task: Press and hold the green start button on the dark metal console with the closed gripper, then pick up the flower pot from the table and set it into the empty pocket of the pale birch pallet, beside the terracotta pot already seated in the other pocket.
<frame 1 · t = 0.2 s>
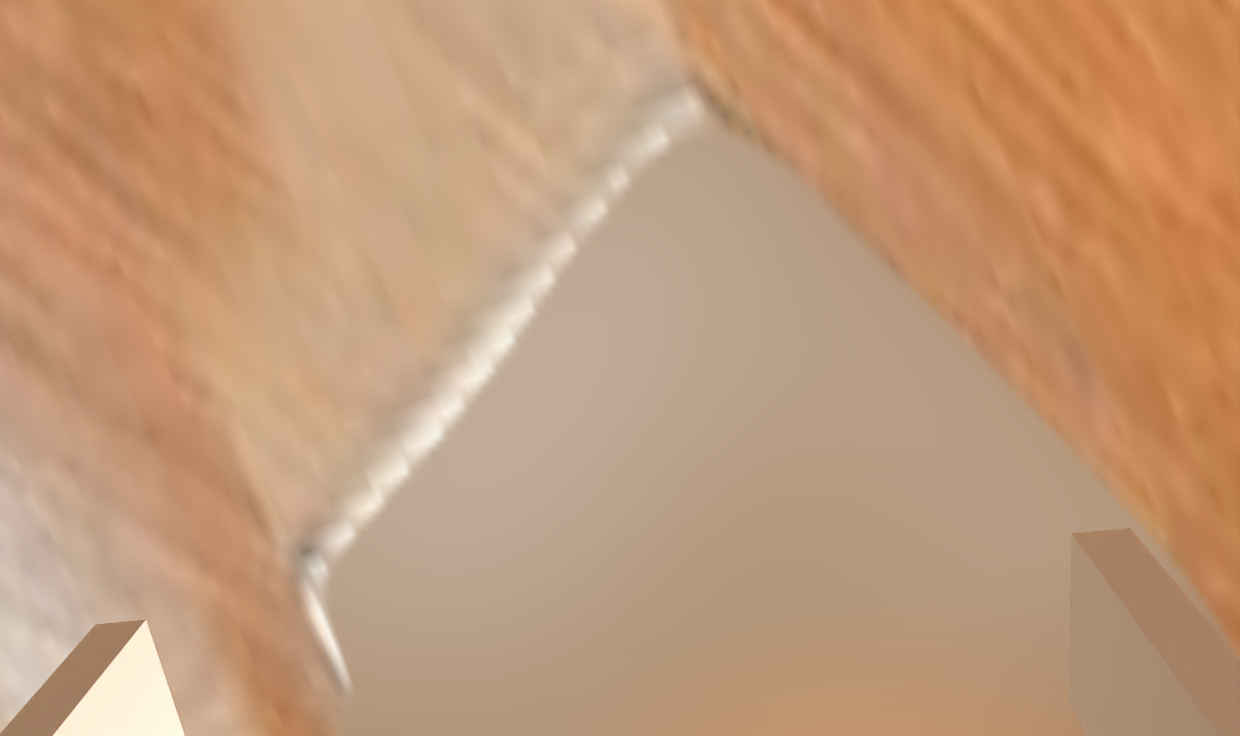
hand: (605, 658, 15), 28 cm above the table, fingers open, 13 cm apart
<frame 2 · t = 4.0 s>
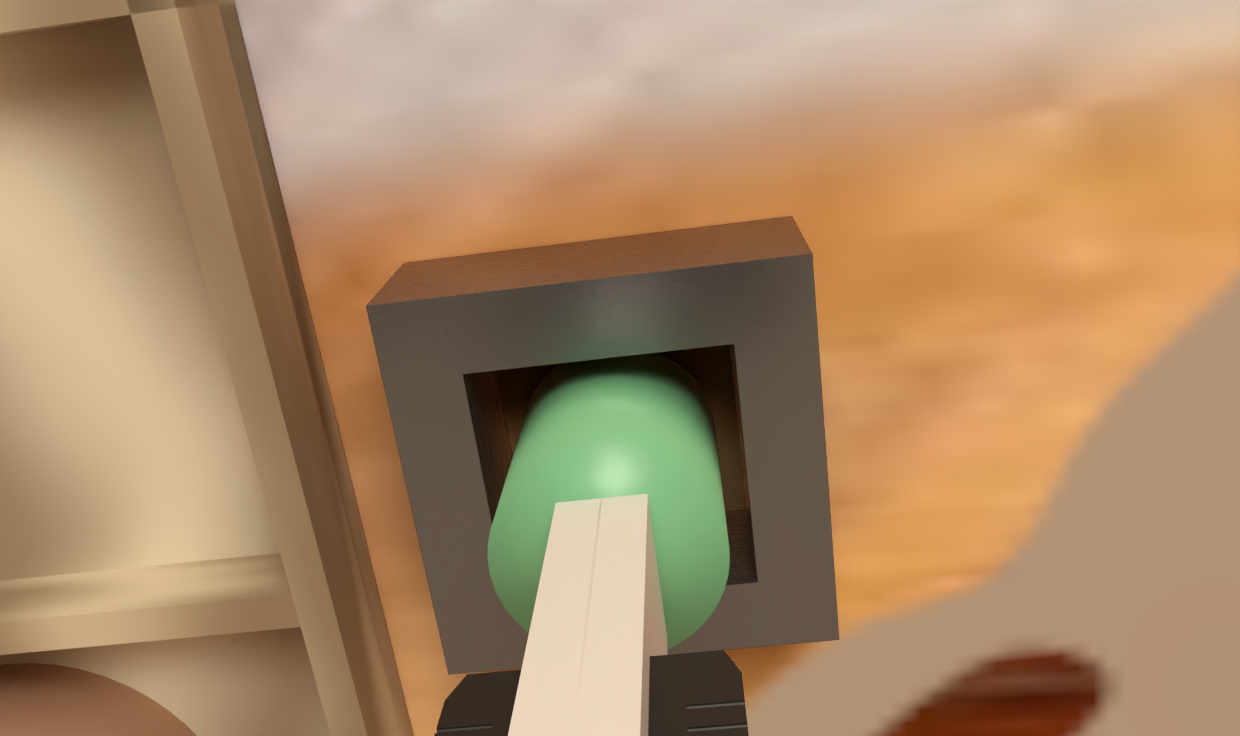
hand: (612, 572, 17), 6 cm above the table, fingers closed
start button: (614, 490, 20), point 3 cm above the table, slide at 0.8 cm, touching gripper
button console: (620, 419, 23), on the table
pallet: (3, 579, 25), on the table
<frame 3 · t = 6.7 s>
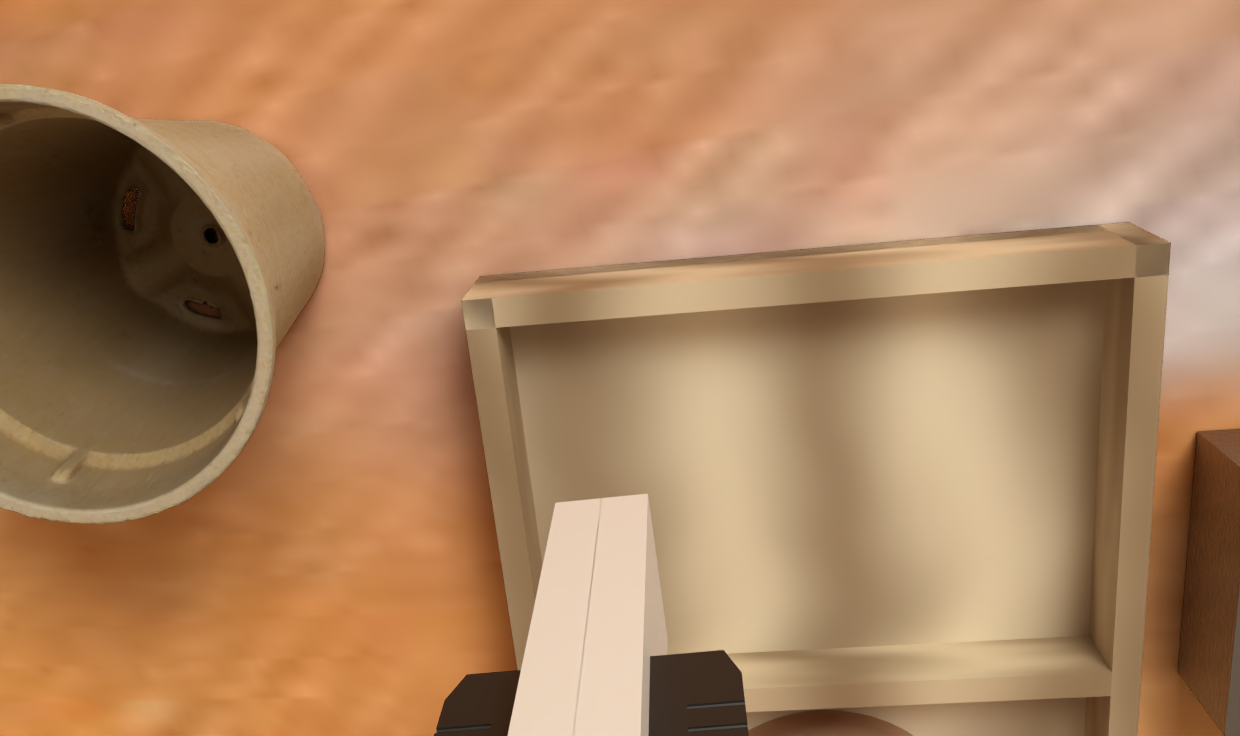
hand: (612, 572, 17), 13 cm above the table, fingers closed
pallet: (814, 645, 33), on the table
flower pot: (224, 233, 30), on the table
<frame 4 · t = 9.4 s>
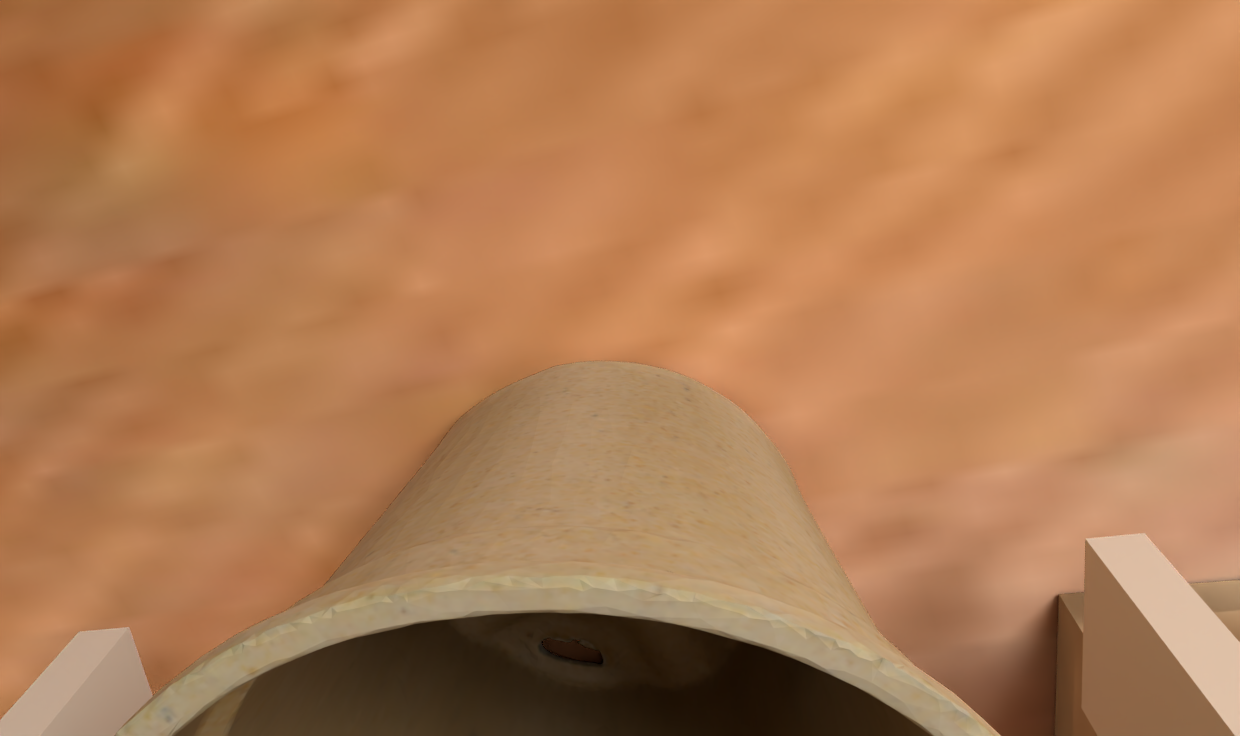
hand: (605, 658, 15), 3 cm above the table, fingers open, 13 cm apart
flower pot: (611, 529, 17), on the table
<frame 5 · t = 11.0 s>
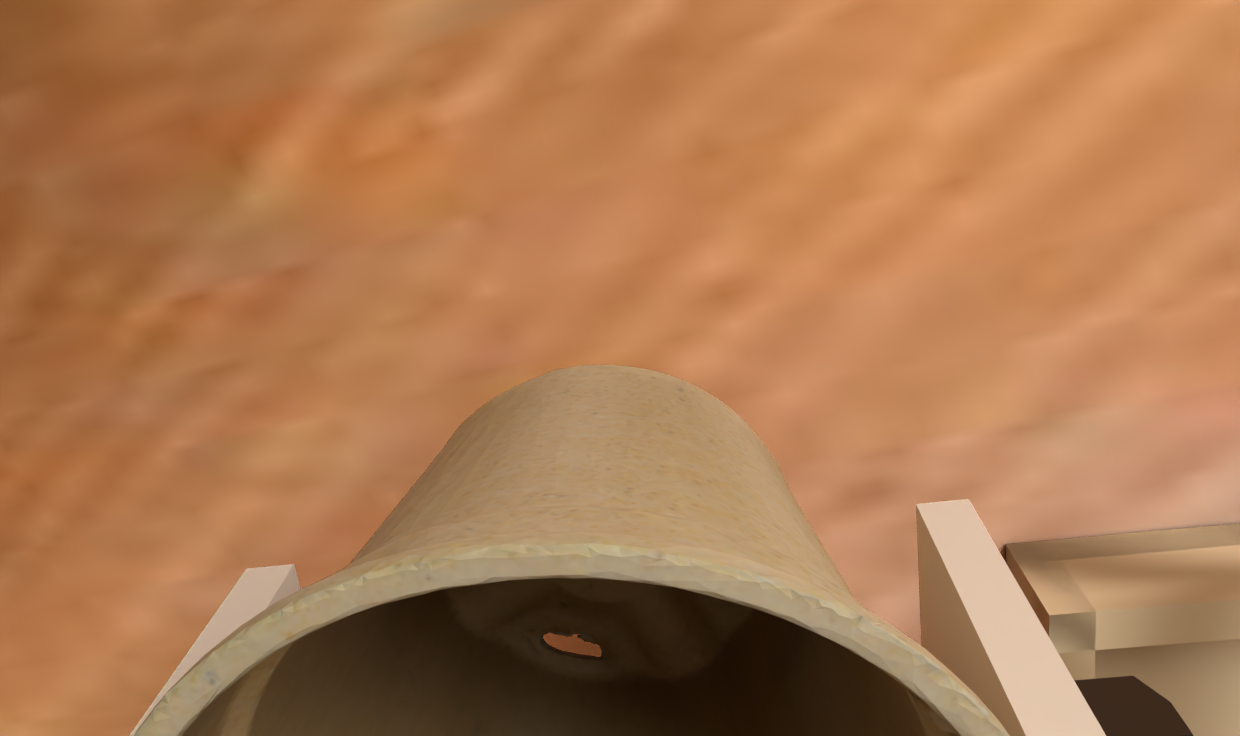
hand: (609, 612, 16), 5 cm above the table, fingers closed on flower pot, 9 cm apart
flower pot: (609, 527, 18), point 3 cm above the table, touching gripper
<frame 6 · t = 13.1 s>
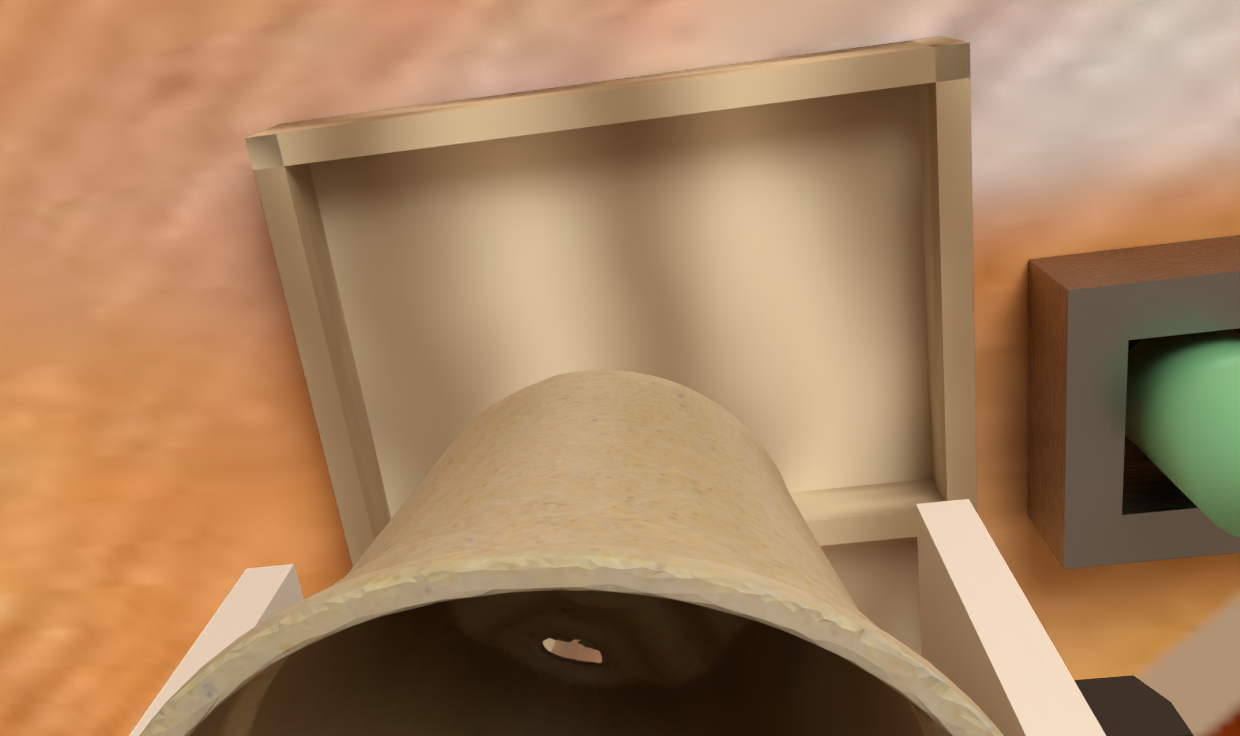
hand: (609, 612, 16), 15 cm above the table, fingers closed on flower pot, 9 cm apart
seated pot: (681, 687, 33), point 1 cm above the table, touching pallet
start button: (1229, 423, 27), point 3 cm above the table, slide at 1.0 cm
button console: (1172, 378, 30), on the table
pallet: (659, 504, 32), on the table
flower pot: (609, 532, 18), point 13 cm above the table, touching gripper
when the fingers open (4 cm above the table, at t = 15.5 s): flower pot stays where it is, resting on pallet.
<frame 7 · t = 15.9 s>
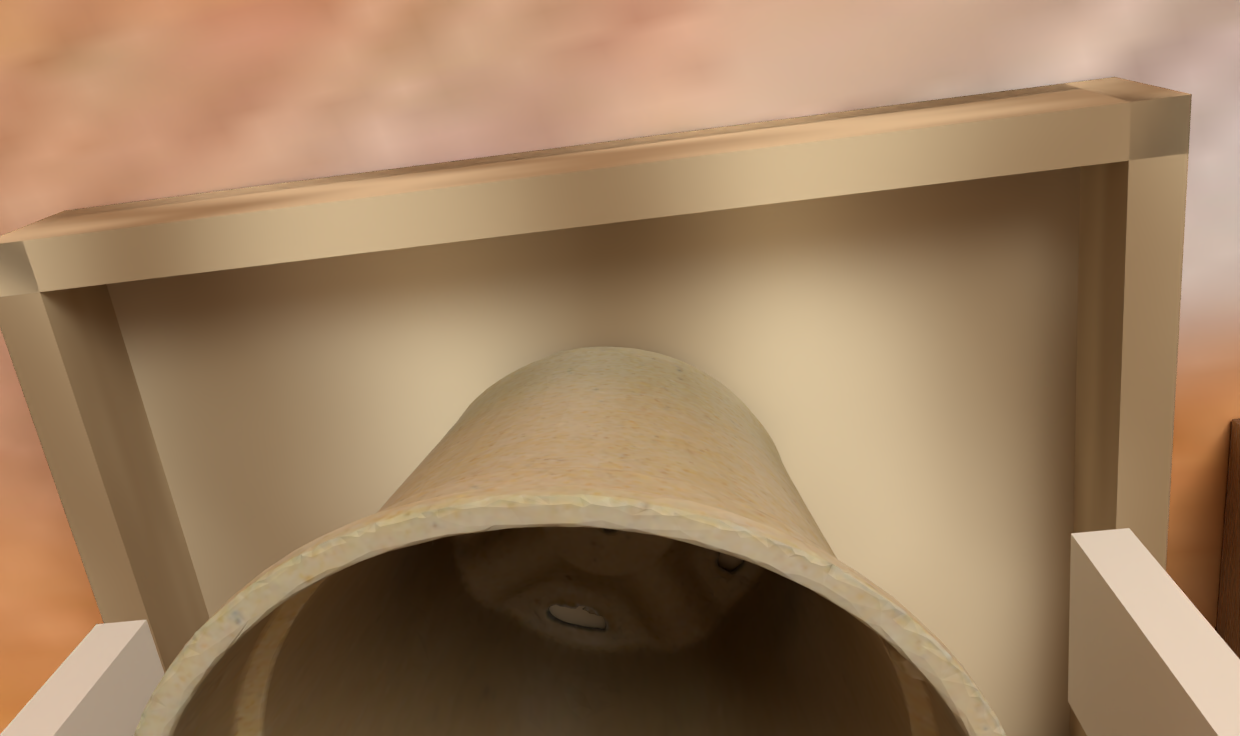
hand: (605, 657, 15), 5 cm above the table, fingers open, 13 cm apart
flower pot: (613, 503, 19), point 1 cm above the table, touching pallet
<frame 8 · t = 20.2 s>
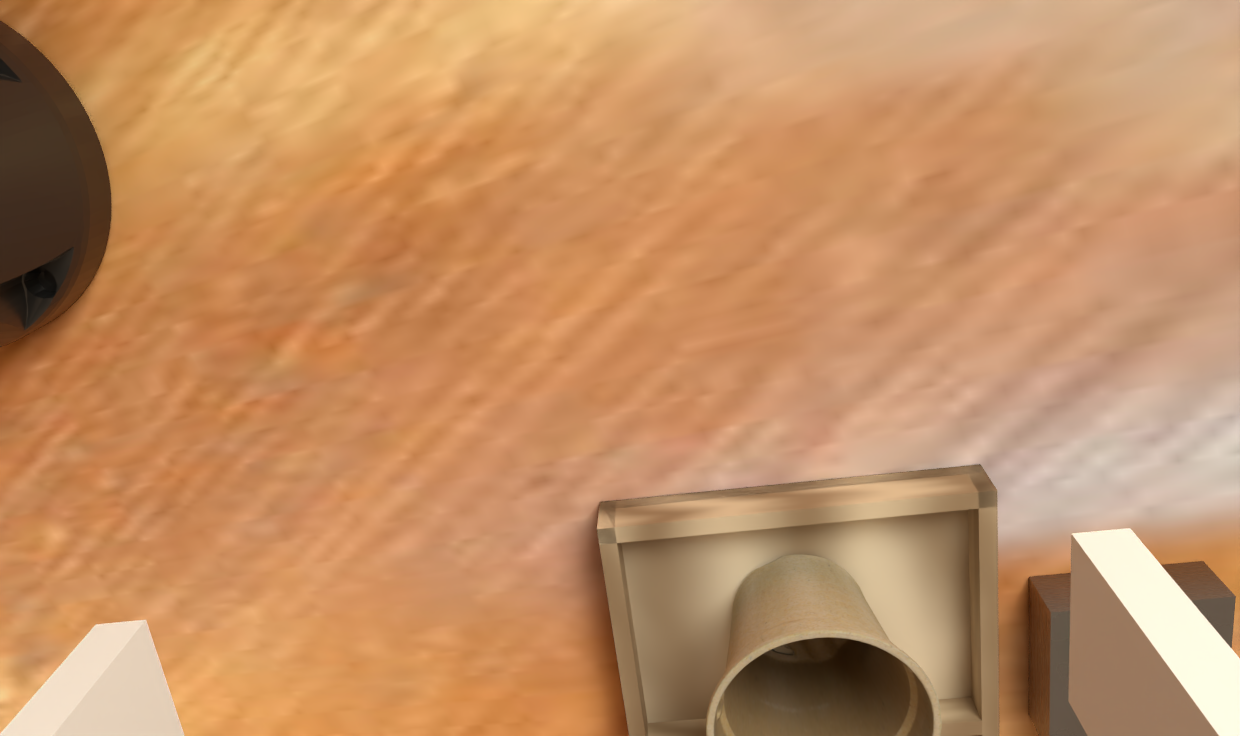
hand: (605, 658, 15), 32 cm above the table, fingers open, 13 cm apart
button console: (1113, 640, 51), on the table
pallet: (806, 706, 53), on the table
flower pot: (797, 607, 51), point 1 cm above the table, touching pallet
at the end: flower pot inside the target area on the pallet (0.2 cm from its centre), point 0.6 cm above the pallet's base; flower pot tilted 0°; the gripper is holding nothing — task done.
